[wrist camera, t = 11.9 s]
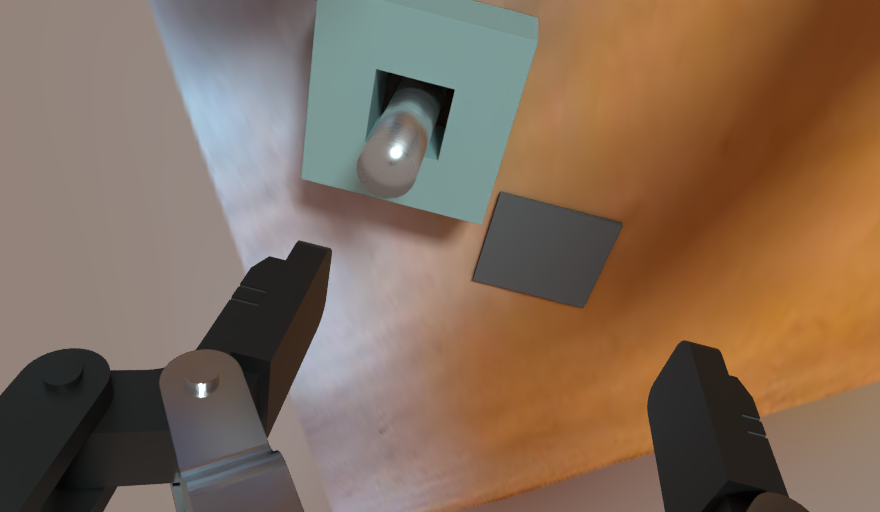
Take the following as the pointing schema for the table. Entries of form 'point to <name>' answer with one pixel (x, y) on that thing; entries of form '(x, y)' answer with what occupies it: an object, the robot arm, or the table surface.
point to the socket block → (426, 59)
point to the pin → (400, 139)
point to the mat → (545, 250)
